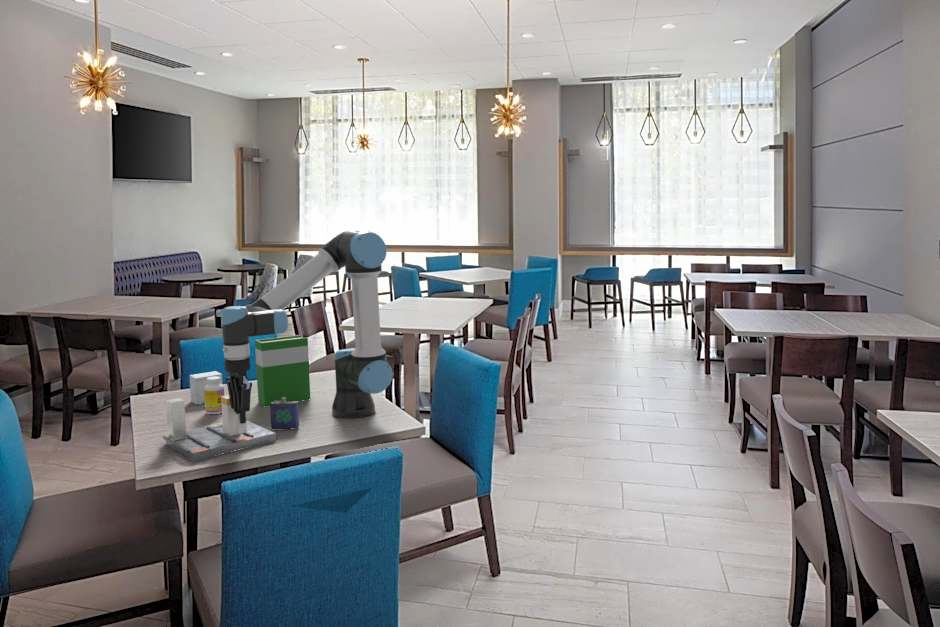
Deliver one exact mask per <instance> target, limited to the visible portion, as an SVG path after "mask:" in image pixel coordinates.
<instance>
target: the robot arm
mask: <svg viewBox="0 0 940 627" xmlns="http://www.w3.org/2000/svg"><path fill="white" fill-rule="evenodd" d="M386 246H387V245H386V243H385V241H384V240H383V237H381V236H380V235H379V234H377V233H376V232H372V231H369V230H354V229H350V230H345V231H342V232H341V233H339V234H338V235H336V236H335V237H333V238H332V239H331V240H329V241H328V242H327V243H326V244H324V245H323V246H321V247H320V248H319V249H318V253H317V254H315V255H314V257H312V258H311V259H309V260H308V261H307V262H306V263H304V264H303V265H302V266H300V267H299V268H297V269H296V270H295V271H294V272H293V273H291V274H290V275H288V276H287V277H286V278H284V279H283V280H282V281H281V282H280V283H278V284H277V285H276V286H275V287H273V288H271V289H270V290H269V291H268V292H267V293H265V294H264V295H262V296H261V297H260V298H259V299H257V300H256V301H254V302H253V303H252V304H250V303H249V304H246V305H244V306H242V305H234V306H233V305H231V306H227V307H226V306H225V307H224V308H222V310H221V323H220V324H221V332H222V342H223V343H222V344H223V345H222V347H223V348H222V352H223V357H224V360H223V362H224V371H225V372H226V373H228V375H229V376H228V377H225V382H226V386H227V392H228V395H229V398H230V404H231V408H232V409H234V412H235V417H236V433H237V434H242V433H246V432H247V425H246V420H247V412H250V411H251V408H250V407H251V395H252V394H251V391H252V387H253V383H252V382H251V381H250V382H249V381H248V373H247V372H248V371H250V370H251V365H252V364H251V358H250V356H251V352H250V351H251V350H250V349H251V348H250V347H251V346H250V337H251V338H252V337H259V336H269V335H278V334H284V333H285V332H287V330H288V327H289V320H288V319H289V318H288V315H287V312H286V311H285V309H286V308H287V307H289V306H290V305H291V304H293V303H294V302H295V301H296V300H297V299H299V298H300V297H302V296H303V295H304V294H305V293H307V292H308V291H309V290H310V289H312V288H313V287H315V286H316V285H317V284H318V283H319V282H321V281H322V280H323V279H324V278H326V277H327V276H329V275H330V274H331V273H332V272H333V273H335V272H336V273H337V272H339V271H340V270H341V269H343V268H344V267H345V272H346V274H347V275H348V276H349V277H350V280H351V295H352V313H353V329H354V330H353V331H354V332H353V333H354V344H355V347H351V348H350V347H349V348H343V349H339V350H337V351H335V354H334V368H335V369H334V371H335V386H336V387H335V389H336V390H335V396H334V399H333V402H332V406H331V414H332V415H333V416H334V417H337V418H343V419H344V418H345V419H349V418H350V419H354V418H355V419H356V418H363V417H367V416H370V415H372V414H374V413H375V411H376V405H375V402H374V399H373V397H372V396H373V395H374V394H379V393H382V392H384V391H385V390H387V388H388V387H389V386H390V384H391V382H392V379H393V375H394V374H393V368H392V367H391V365H390V364H389V363H388V361H387V352H386V350H385V349H384V348H383V347H382V341H381V325H380V324H381V323H380V322H381V321H380V319H381V318H380V303H379V300H380V299H379V288H378V287H379V283H378V276H379V275H380V274H381V273H382V264H383V263H384V261H385V260H386V256H387V247H386ZM372 394H373V395H372Z"/></svg>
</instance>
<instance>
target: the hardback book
mask: <svg viewBox="0 0 940 627" xmlns="http://www.w3.org/2000/svg"><path fill="white" fill-rule="evenodd" d="M308 339H309V338H308V337H302V334H296V335H288V336H287V335H286V336H279V337H270V338H263V339H254V347H255V348H254V349H255V350H254V351H255V364H256V365H255V368H256V369H255V370H256V382H257V383H256V384H257V385H256V386H257V402H259V403H260V404H259V403H258V404H259V405H261V406H262V405H263V407H264V406H265V407H264V408H267V407H266V406H270V403H271V402H275V401H277V402H278V401H281V400H282V399H281V398H282V397H286V399H285V400H286V402H293V401H300V402H303V401H302V400H306V401H310V400H311V383H310V382H311V381H310V362H309V361H310V360H309V340H308ZM309 399H310V400H309Z"/></svg>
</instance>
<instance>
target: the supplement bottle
mask: <svg viewBox="0 0 940 627" xmlns="http://www.w3.org/2000/svg"><path fill="white" fill-rule="evenodd" d="M220 381H221V378H220V377H217V376H214V377H208V378H207V383H208V384H207V385H206V386H205V388H204V392H205V403H204V404H205V414H207V415H209V414H218V415H221V414H220V413H222V403H221V396H225V386H224V385H222V384H220Z"/></svg>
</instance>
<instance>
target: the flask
mask: <svg viewBox="0 0 940 627" xmlns="http://www.w3.org/2000/svg"><path fill="white" fill-rule="evenodd" d="M281 399H282V400H281V401H278V402H277V401H275V402H271V403H270V407H269V414H270V415H269V416H270V418H269V419H270V429H271V430H272V429H284V430H286V429H287V430H292V429H291V428H298V427H300V422H299V421H300V416H299V402H297V401H293V402H286V400H285V399H286V397H282V398H281ZM298 429H299V428H298Z"/></svg>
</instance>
